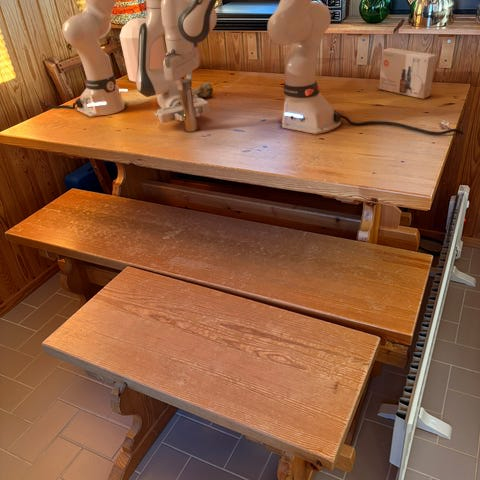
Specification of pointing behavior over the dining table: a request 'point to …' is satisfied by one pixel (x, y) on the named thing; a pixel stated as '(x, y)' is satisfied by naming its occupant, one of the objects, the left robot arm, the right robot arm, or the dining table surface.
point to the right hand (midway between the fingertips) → (185, 87)
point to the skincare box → (407, 72)
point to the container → (130, 48)
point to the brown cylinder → (188, 109)
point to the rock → (203, 91)
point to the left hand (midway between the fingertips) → (190, 116)
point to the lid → (186, 83)
